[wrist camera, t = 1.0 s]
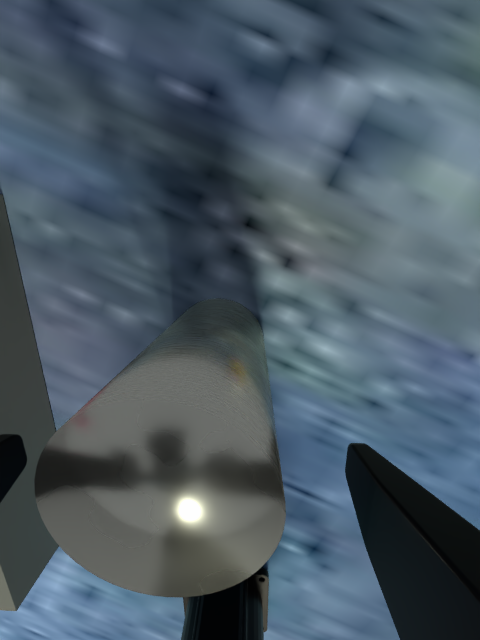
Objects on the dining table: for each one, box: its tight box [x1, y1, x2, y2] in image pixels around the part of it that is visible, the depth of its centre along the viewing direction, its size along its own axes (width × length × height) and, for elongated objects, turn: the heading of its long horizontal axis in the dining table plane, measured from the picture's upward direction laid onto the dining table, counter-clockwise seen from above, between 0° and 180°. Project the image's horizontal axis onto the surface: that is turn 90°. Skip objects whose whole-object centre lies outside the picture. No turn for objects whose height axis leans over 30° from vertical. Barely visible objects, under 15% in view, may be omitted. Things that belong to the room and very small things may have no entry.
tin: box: [34, 298, 286, 597], centre depth 10 cm, size 5×5×10 cm
